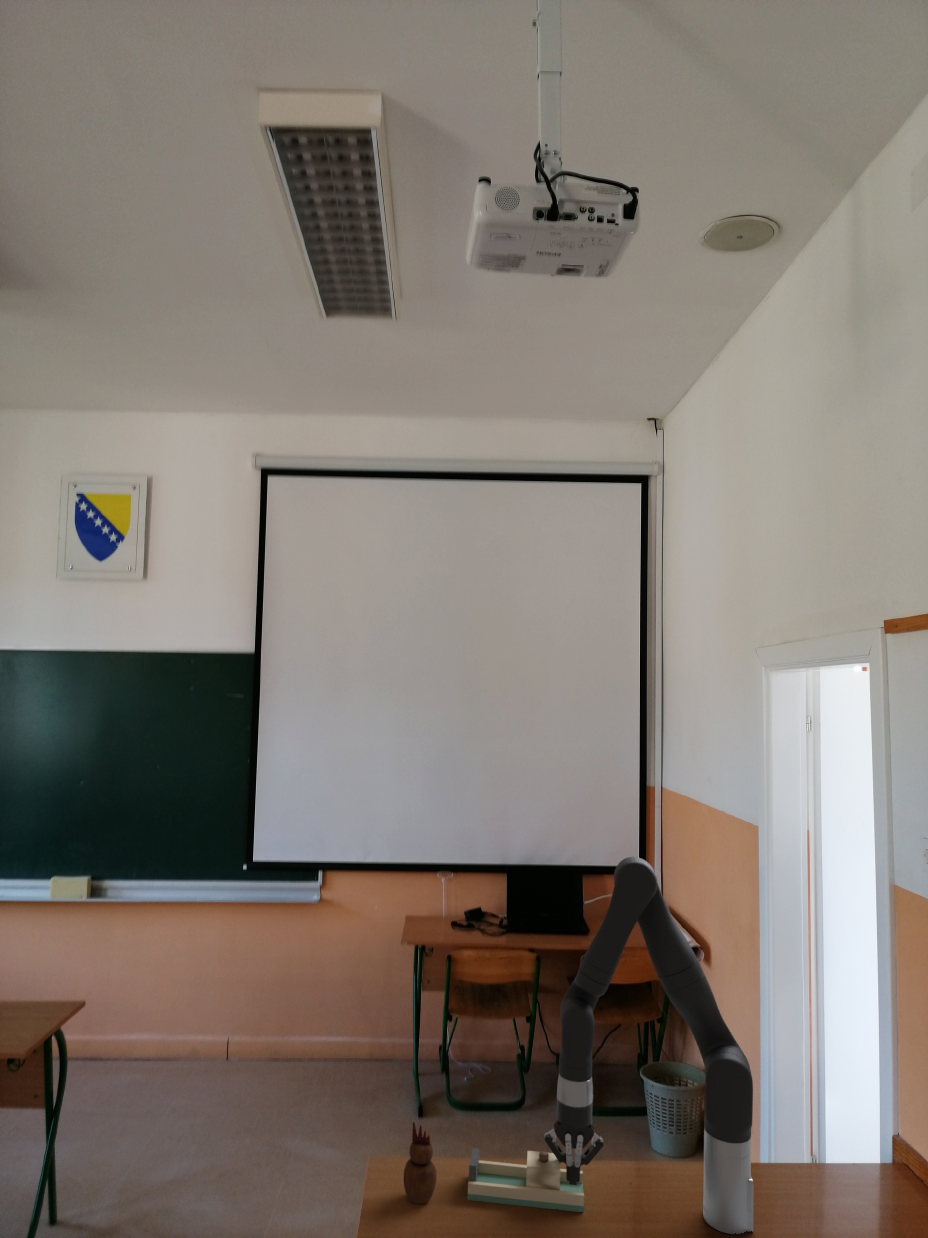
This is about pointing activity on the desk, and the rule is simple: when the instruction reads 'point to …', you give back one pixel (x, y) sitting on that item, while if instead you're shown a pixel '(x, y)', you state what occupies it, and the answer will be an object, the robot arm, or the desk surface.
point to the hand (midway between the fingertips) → (572, 1183)
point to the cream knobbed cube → (543, 1170)
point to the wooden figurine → (420, 1169)
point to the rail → (519, 1186)
